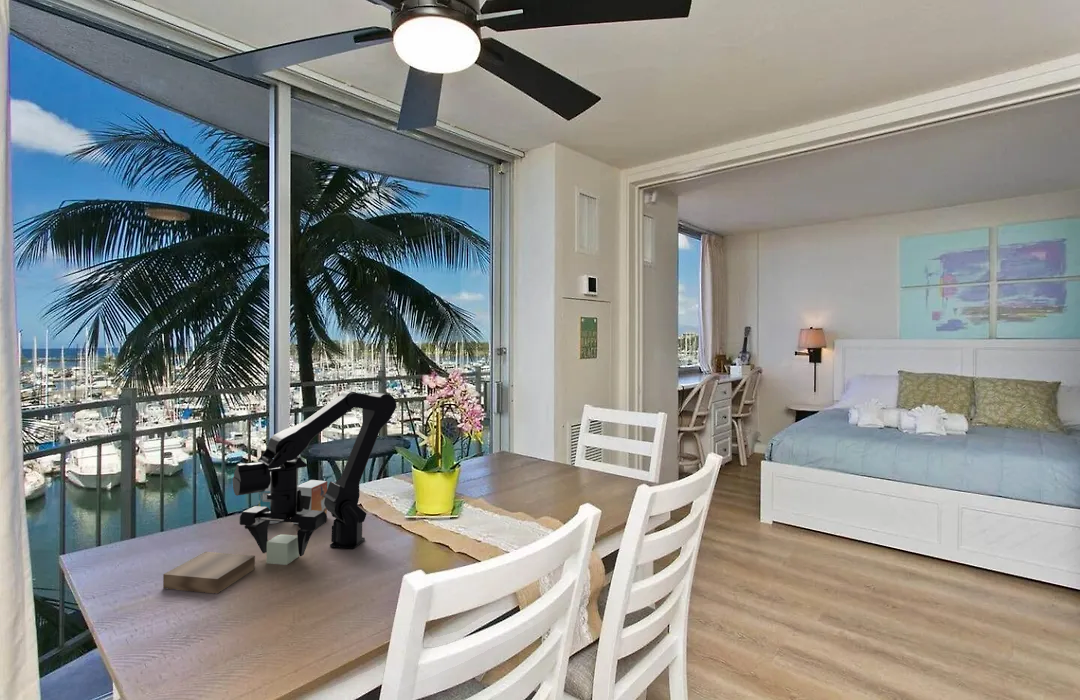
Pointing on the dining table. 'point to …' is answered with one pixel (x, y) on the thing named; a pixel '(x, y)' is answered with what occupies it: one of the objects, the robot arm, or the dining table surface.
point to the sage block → (282, 549)
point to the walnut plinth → (209, 572)
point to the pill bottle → (266, 500)
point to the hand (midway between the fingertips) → (283, 554)
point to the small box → (314, 495)
